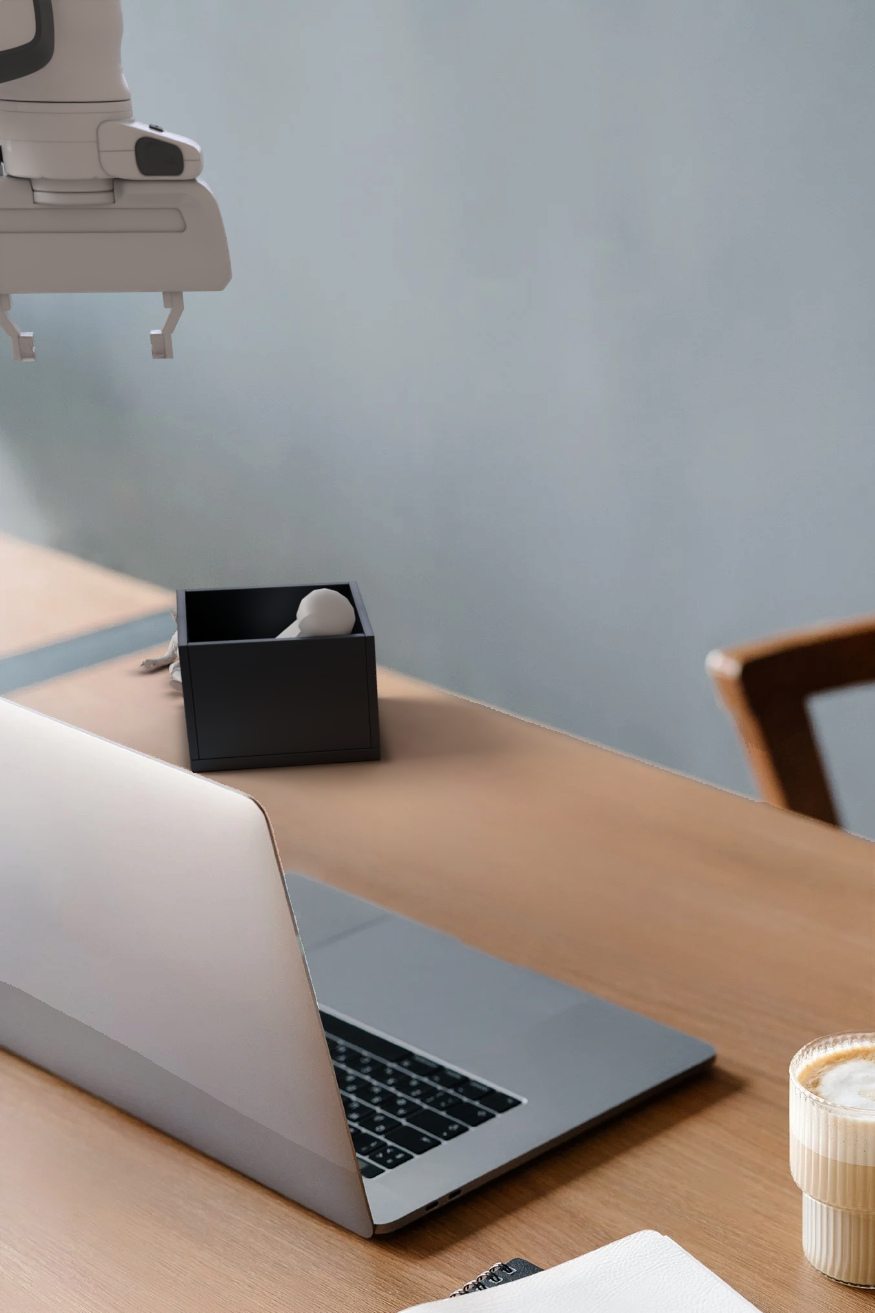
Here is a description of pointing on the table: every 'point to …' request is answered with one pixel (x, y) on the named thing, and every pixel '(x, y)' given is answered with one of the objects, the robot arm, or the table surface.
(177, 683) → the soldier figure
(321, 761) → the waste bin
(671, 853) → the table surface
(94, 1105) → the table surface
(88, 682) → the table surface
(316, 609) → the salt shaker
